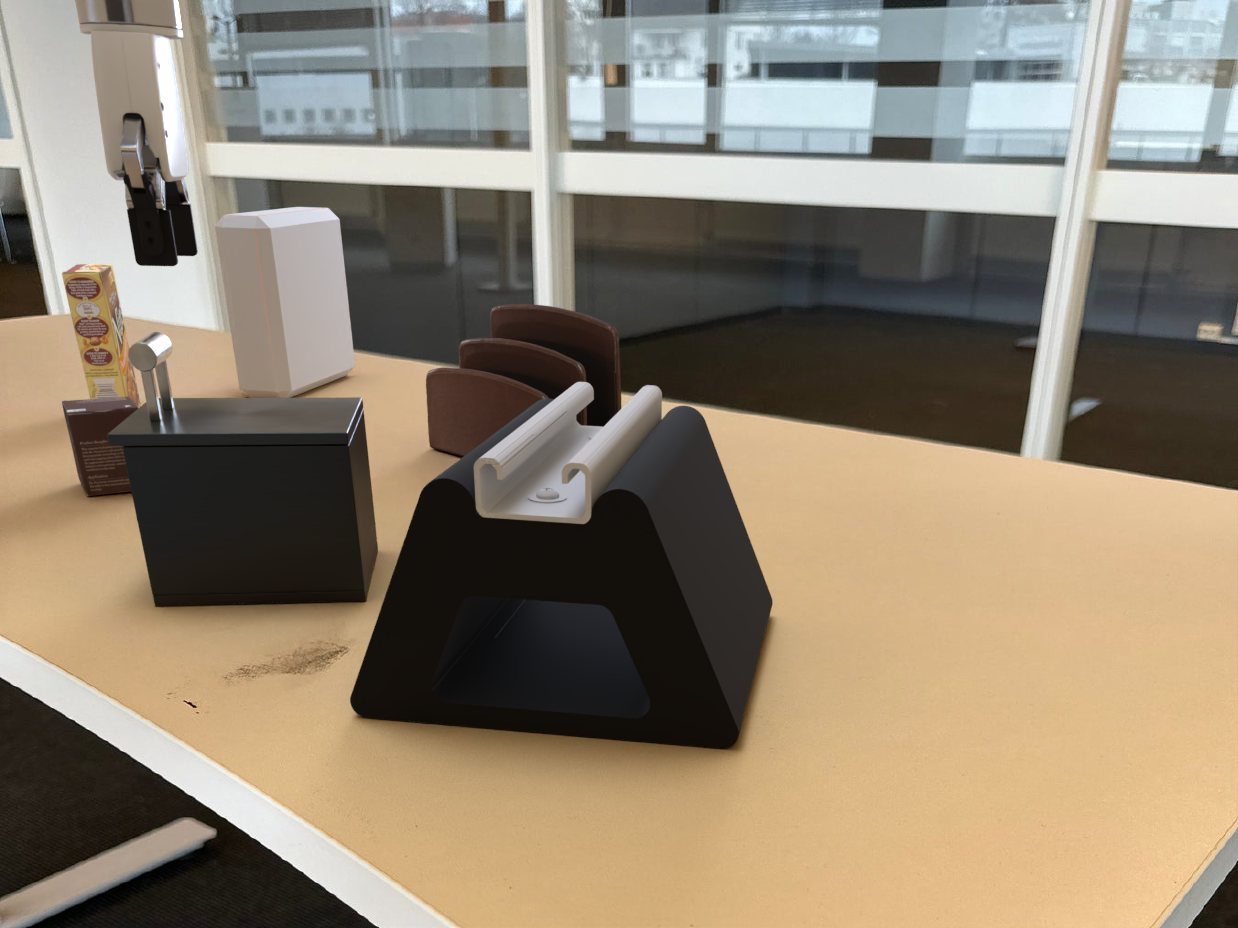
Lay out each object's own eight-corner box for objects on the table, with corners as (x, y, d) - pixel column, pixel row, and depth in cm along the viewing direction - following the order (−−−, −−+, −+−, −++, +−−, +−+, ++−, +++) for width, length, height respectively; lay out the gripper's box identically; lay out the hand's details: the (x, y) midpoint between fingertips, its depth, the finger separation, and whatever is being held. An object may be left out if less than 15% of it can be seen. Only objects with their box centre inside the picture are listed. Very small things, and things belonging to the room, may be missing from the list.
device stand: (771, 615, 87) (787, 391, 79) (737, 750, 68) (753, 472, 60) (466, 593, 90) (451, 375, 82) (352, 716, 71) (318, 447, 63)
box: (147, 476, 117) (131, 395, 113) (156, 491, 113) (140, 407, 109) (78, 482, 115) (60, 399, 111) (85, 497, 110) (66, 412, 106)
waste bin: (154, 606, 86) (122, 447, 80) (190, 553, 97) (163, 409, 91) (366, 601, 88) (348, 445, 82) (378, 550, 98) (363, 408, 93)
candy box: (132, 421, 138) (102, 270, 130) (92, 422, 137) (60, 270, 129) (142, 406, 146) (114, 262, 138) (104, 407, 145) (74, 262, 137)
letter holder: (502, 435, 136) (495, 295, 128) (624, 468, 124) (625, 315, 116) (427, 448, 130) (416, 302, 122) (549, 484, 118) (544, 324, 110)
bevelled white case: (304, 371, 168) (283, 205, 158) (359, 374, 167) (341, 207, 156) (228, 398, 151) (199, 214, 140) (289, 402, 149) (264, 216, 139)
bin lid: (109, 446, 80) (89, 351, 77) (152, 409, 91) (136, 324, 88) (348, 444, 82) (338, 351, 79) (363, 408, 93) (355, 324, 90)
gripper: (103, 19, 102) (142, 251, 110) (48, 0, 87) (98, 268, 96) (197, 24, 103) (229, 252, 111) (158, 6, 88) (198, 270, 97)
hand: (168, 260), depth 104 cm, fingers open, 9 cm apart
